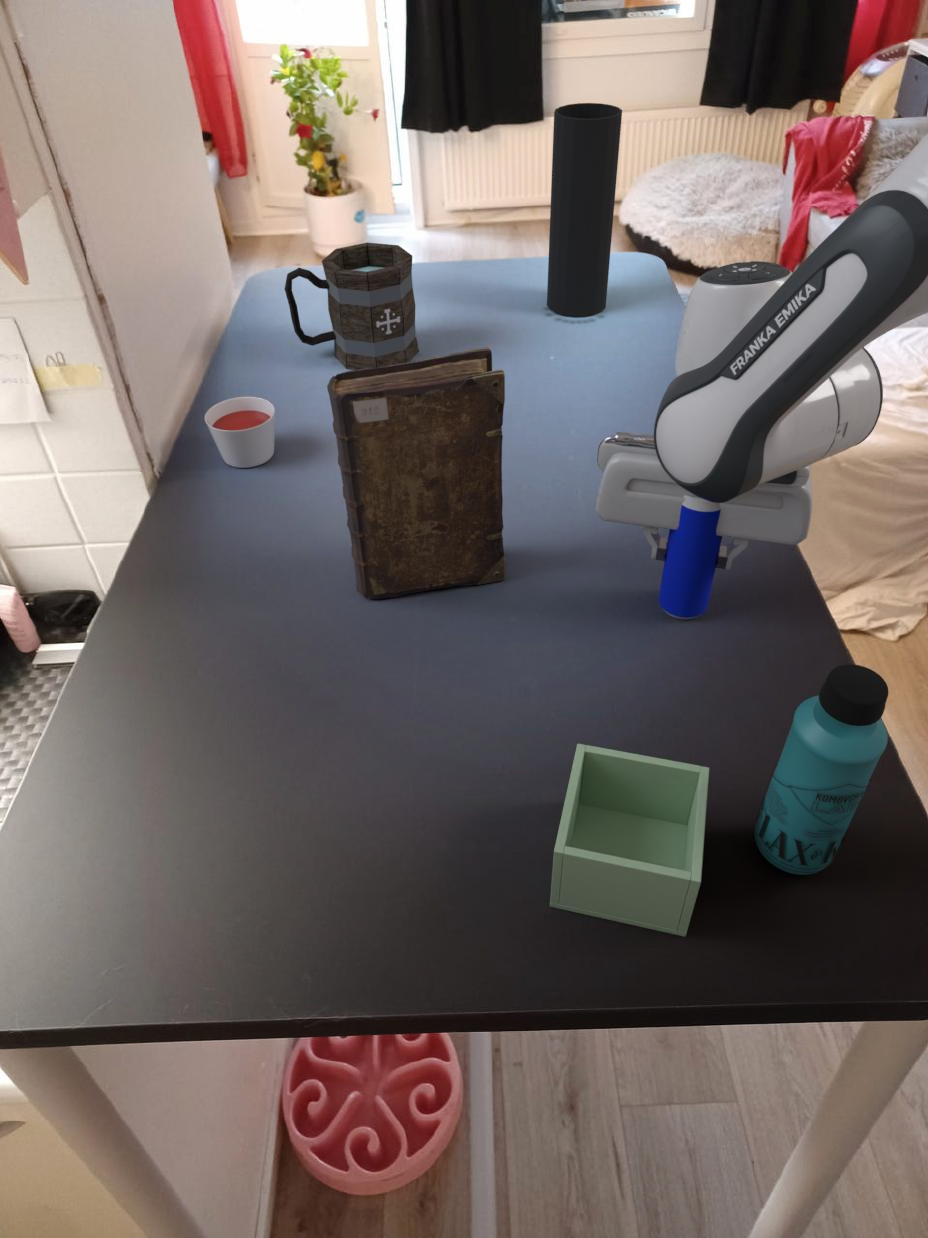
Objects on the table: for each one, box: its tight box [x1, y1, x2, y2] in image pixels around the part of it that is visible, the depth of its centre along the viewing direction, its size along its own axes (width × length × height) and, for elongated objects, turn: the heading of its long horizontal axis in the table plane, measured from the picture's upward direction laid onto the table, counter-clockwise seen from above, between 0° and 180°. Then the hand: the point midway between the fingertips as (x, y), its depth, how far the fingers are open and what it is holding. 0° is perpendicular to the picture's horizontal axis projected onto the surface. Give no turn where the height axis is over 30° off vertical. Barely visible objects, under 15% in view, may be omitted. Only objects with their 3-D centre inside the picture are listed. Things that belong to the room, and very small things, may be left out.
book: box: [326, 346, 507, 600], centre depth 91 cm, size 17×7×25 cm, turn 99°
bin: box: [549, 743, 710, 938], centre depth 69 cm, size 10×10×8 cm
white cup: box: [204, 396, 276, 469], centre depth 118 cm, size 9×9×6 cm
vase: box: [546, 102, 623, 318], centre depth 144 cm, size 10×10×30 cm
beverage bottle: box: [752, 663, 889, 876], centre depth 65 cm, size 6×7×20 cm
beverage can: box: [658, 495, 723, 620], centre depth 90 cm, size 5×5×15 cm
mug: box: [284, 242, 420, 371], centre depth 137 cm, size 20×14×15 cm
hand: (690, 561), depth 91 cm, fingers closed on beverage can, 5 cm apart
